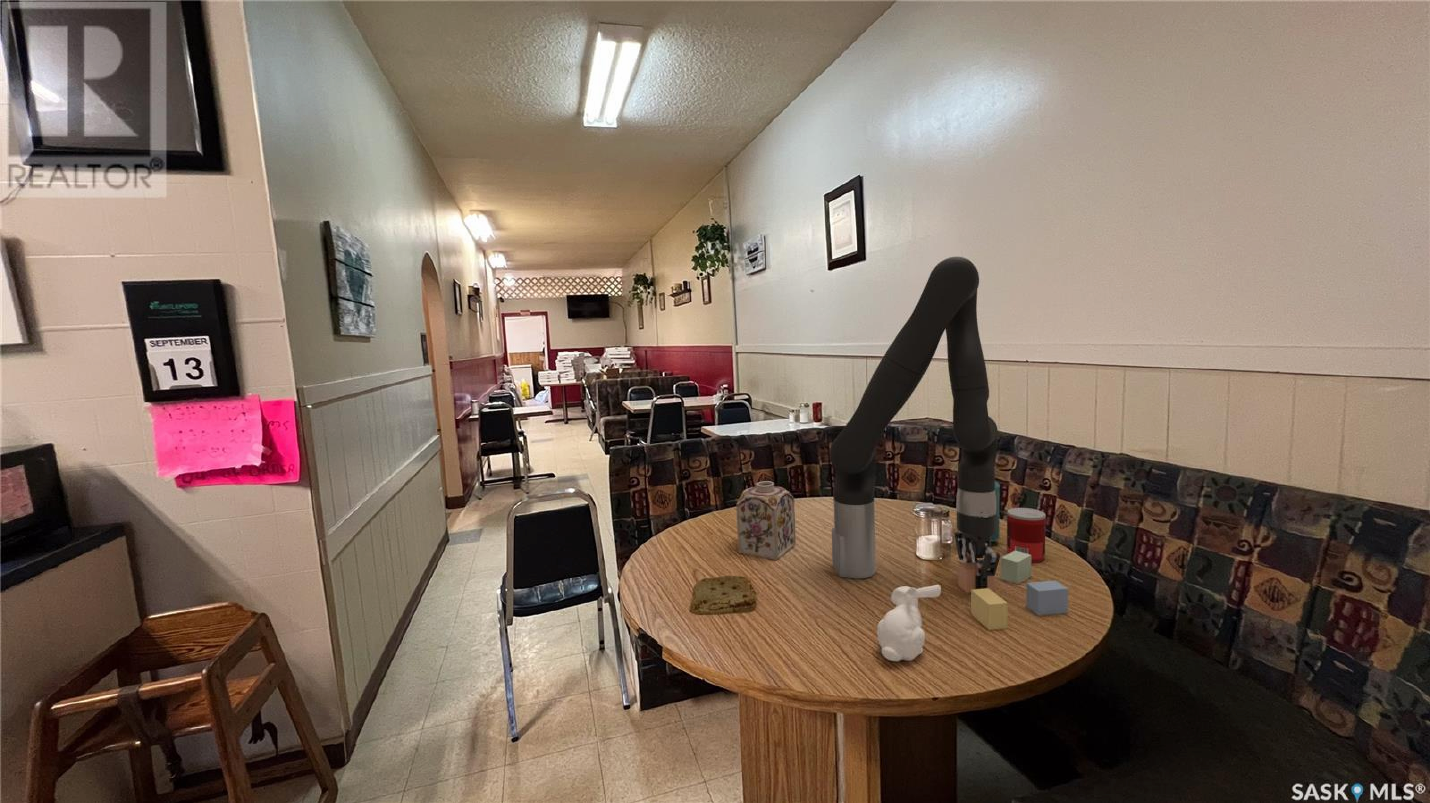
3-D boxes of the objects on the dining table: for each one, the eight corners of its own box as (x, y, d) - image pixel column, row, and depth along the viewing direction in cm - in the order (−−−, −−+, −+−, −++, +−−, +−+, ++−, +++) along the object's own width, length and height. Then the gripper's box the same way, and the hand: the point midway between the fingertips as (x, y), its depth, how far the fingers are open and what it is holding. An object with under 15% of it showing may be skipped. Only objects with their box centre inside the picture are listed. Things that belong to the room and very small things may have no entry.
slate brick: (1038, 615, 103) (1038, 591, 102) (1026, 607, 106) (1026, 582, 106) (1067, 613, 103) (1068, 588, 103) (1054, 604, 107) (1055, 580, 106)
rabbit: (892, 628, 101) (892, 567, 100) (945, 643, 95) (945, 579, 94) (867, 660, 92) (866, 593, 90) (924, 679, 86) (923, 608, 84)
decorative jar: (797, 545, 144) (794, 479, 142) (778, 561, 134) (775, 491, 132) (757, 538, 150) (754, 475, 148) (736, 553, 141) (733, 486, 139)
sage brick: (1017, 584, 116) (1017, 562, 115) (1001, 579, 119) (1001, 557, 118) (1031, 576, 119) (1031, 554, 119) (1015, 571, 122) (1015, 550, 122)
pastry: (723, 575, 129) (722, 563, 128) (779, 597, 116) (779, 584, 116) (667, 602, 117) (666, 589, 116) (723, 630, 104) (723, 615, 104)
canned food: (1052, 562, 126) (1052, 516, 124) (1017, 563, 126) (1017, 518, 125) (1033, 549, 133) (1034, 506, 132) (1000, 551, 133) (1001, 508, 132)
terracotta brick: (966, 592, 113) (966, 570, 113) (958, 585, 117) (958, 563, 116) (994, 590, 114) (994, 567, 113) (984, 583, 117) (984, 561, 117)
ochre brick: (1007, 628, 99) (1007, 602, 99) (989, 630, 99) (989, 604, 98) (988, 612, 105) (988, 588, 105) (971, 613, 105) (971, 589, 104)
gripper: (942, 500, 120) (942, 574, 122) (977, 521, 106) (977, 604, 108) (974, 498, 121) (974, 571, 123) (1014, 518, 107) (1013, 601, 109)
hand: (975, 586), depth 115 cm, fingers closed on terracotta brick, 3 cm apart
